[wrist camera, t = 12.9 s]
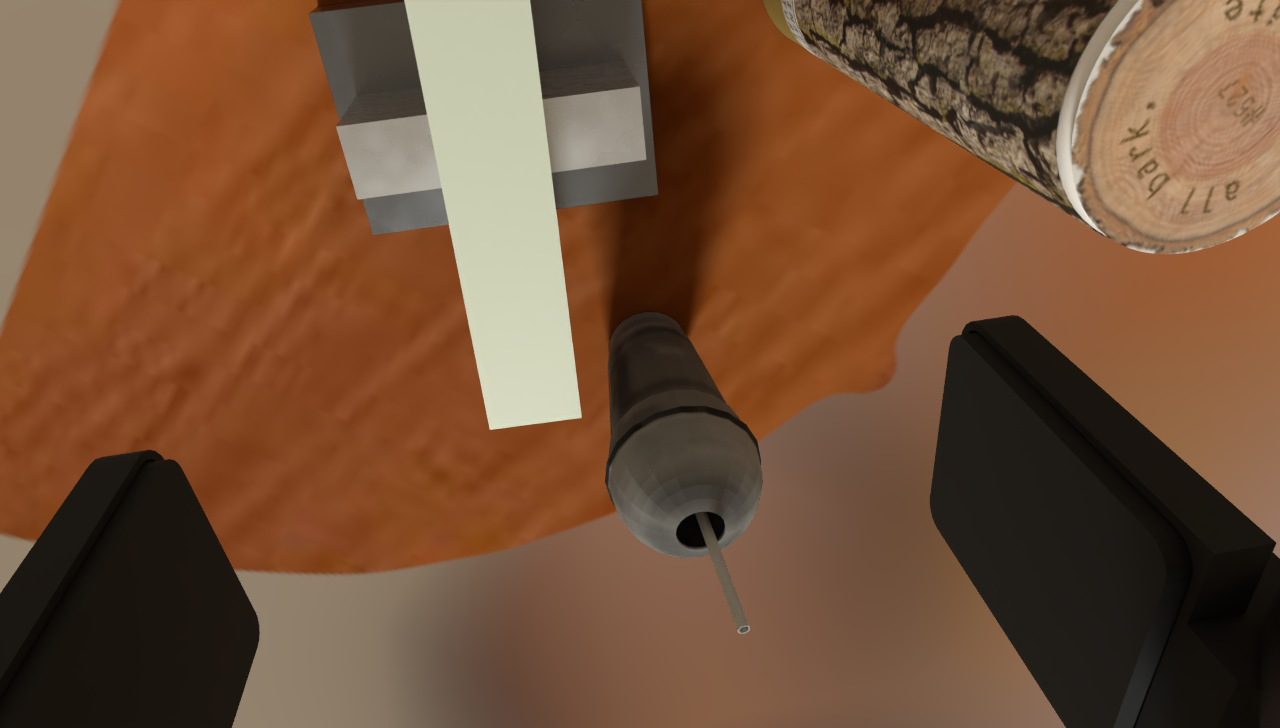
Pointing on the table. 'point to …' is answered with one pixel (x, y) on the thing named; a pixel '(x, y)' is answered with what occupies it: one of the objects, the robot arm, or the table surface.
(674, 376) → the beverage cup
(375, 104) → the ridge stand
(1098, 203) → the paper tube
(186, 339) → the table surface
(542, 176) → the batten
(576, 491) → the table surface
